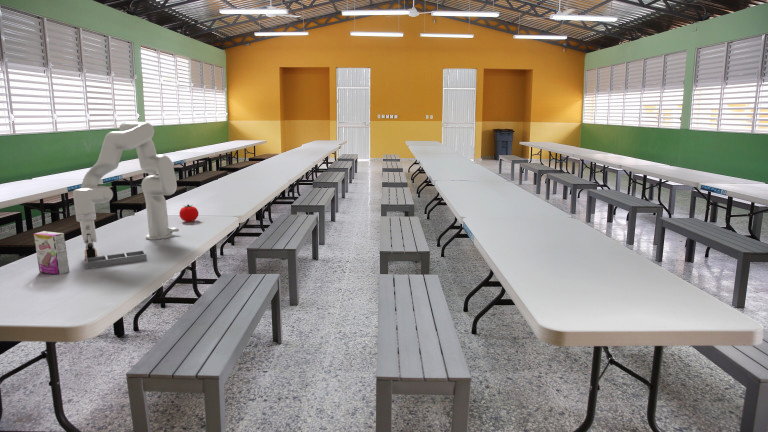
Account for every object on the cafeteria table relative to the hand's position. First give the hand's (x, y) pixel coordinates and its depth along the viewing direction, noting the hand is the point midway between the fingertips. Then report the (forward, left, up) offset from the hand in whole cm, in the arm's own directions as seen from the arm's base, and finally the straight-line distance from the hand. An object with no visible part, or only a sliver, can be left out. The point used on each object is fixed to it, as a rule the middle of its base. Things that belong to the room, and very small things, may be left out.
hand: (91, 255), depth 234 cm
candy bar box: (+14, +16, -1) cm, 21 cm away
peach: (0, 0, -1) cm, 1 cm away
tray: (-9, +14, -1) cm, 17 cm away
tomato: (-53, -54, -1) cm, 76 cm away
